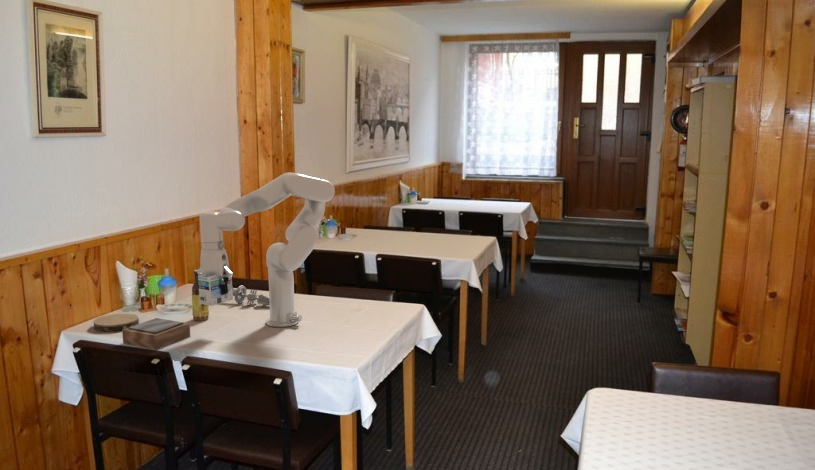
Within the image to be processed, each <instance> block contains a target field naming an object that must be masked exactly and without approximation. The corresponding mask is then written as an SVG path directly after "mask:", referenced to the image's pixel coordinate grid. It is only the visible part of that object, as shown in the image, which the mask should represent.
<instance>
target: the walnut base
mask: <svg viewBox="0 0 815 470" xmlns="http://www.w3.org/2000/svg"><path fill="white" fill-rule="evenodd" d="M121 333H122V343H123V344H125V345H131V346H136V347H141V348H147V349H151V350H155V351H156V350H160V349H163V348H164V347H168V346H170V345H172V344H175V343H177V342H180V341H182V340H186V339H188V338H190V337H191V327H190V323H188V322H184V321H177V320H170V319H165V318H159V317H158V318H157V317H156V318H153V319H150V320H147V321H144V322H141V323H140V322H139V324H137V325H134V326H131V327H129V328H126V329H123V330H122V331H121Z"/></svg>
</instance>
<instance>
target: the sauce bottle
mask: <svg viewBox="0 0 815 470" xmlns="http://www.w3.org/2000/svg"><path fill="white" fill-rule="evenodd" d="M197 270H198V269H194V270H193V274H194V283H193V285H192V287H191V305H192V306H191V307H192V316H193V317H192V318H193V320H194V321H196V322H202V321H208V319H209V316H210V306H209V305H204V304H200V297H199V284H198V273H197Z"/></svg>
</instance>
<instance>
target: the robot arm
mask: <svg viewBox="0 0 815 470" xmlns="http://www.w3.org/2000/svg"><path fill="white" fill-rule="evenodd" d="M335 189H336V188H335V186H334V184H333V183H332V182H330V181H329V180H327V179H322V178H321V179H320V178H318V177H313V176H308V175H305V174H303V173H302V174H301V173H296V172H285V173H282V174H280V175H278V177H275V178H273V180H271V181H269V182H268V183H266V184H264V185H263V186H261V187H259V188H257V189H256V190H254V191H252V192H251V191H250V193H248V194H245V195H243V196H241V197H238V198H237V199H235V200H233V201H232V202H230V203H228V204H226V205H225V206H224V207H222V208H220V210H218V211H212V210H211V211H205V212H204V211H203V212H201V213H200V215H199V227H200V242H201V250H200V256H199V257H200V258H199V262H200V263H199V264H200V265H199V268H197V269H196V270H197V273H198V275H202V274H209V275H216V276H217V277H219V279H220V281H221V284H220V289H221V295H224V294H227V293H228V285H227V283H229V280H230V279H231V277H233V276H234V273H233V272H232V271H231V270H230V263H229V262H230V261H229V257H228V253H227V250H226V248H225V243H224V238H223V231H227V232H234V231H235V232H237V231H239V230H241V229H242V228H243V227H244V225H245V223H246V218H245V217H247V216H250V215H251V214H254V213H258V212H259V213H260V212H265V211H268V210H270V209H272V208H273V207H275V206H277V205H279V204H280V203H281V202H283V201H285V200H286V199H288V198H289V197H291V196H294V197H298V198H302V199H304V205H303V207H302V209H301V210H300V212H299V213H298V214H297V216H296V217H295V218H294V220H292V222H291V223H290V224H289V226H288V227H287V228H286V230H285V239H286V240H287V243H284V242H276V243H273V244H271V245H270V246H269V247H268V248H267V251H266V255H265V257H266V258H265V259H266V260H265V261H266V266H267V272H268V297H269V304H270V305H269V318H268V317H267V318H266V320H265V323H266V324H265V325H267V326H270V327H275V328H285V327H286V328H287V327H291V326H294V325H295V326H296V325H297V324H298V323H300V322H302V320H303V315H299V314H298V311H297V310H295V279H294V278H295V277H294V271H296V270H298V269H299V268H300V266H302V265H303V263H304V262H305V260H306V259H307V258H308V256H310V254H311V253H312V252H313V250H314V249H315V247H316V246H317V245H318V241H319V239H320V234H319V231H318V229H317V227H318V225H319V224H320V222H321V221H322V219H323V218H324V215H325V212H326V203H327V202H329V201H331V200H333V198H334V196H335V194H336V191H335ZM223 274H224V275H223ZM226 275H227V276H226ZM222 277H224V280H223V278H222Z"/></svg>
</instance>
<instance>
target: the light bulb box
mask: <svg viewBox="0 0 815 470" xmlns="http://www.w3.org/2000/svg"><path fill="white" fill-rule="evenodd" d="M223 275H224V274H223ZM226 276H227V275H226ZM232 277H233V276H232ZM232 277H231V279H230V280H229V283H227V285H228V293H227V294H224V295H221V289H220V284H221V281H220V279H219V277H217V276H216V275H209V274H202V275H198V284H199V297H200V304H204V305H209V307H214V306H217V305H220V304H223V303H227V302H229V301H233V300H234V296H233V291H232V287H233V278H232ZM222 278H223V280H224V277H222Z"/></svg>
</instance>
